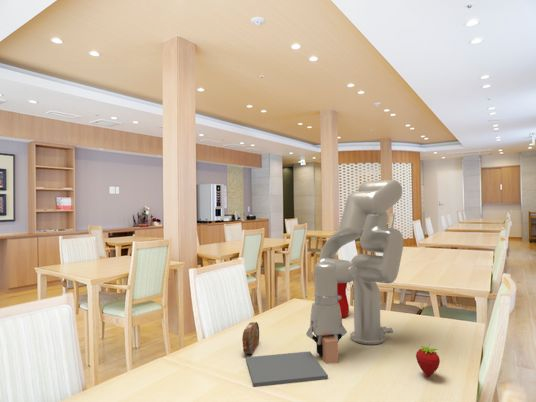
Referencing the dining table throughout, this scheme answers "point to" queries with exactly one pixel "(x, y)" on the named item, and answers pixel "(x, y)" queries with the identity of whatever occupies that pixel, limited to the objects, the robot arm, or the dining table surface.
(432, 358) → the strawberry
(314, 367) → the mat
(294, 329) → the dining table surface
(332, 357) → the card box
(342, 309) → the water bottle
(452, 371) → the dining table surface
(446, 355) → the dining table surface
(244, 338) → the brown rounded slab
